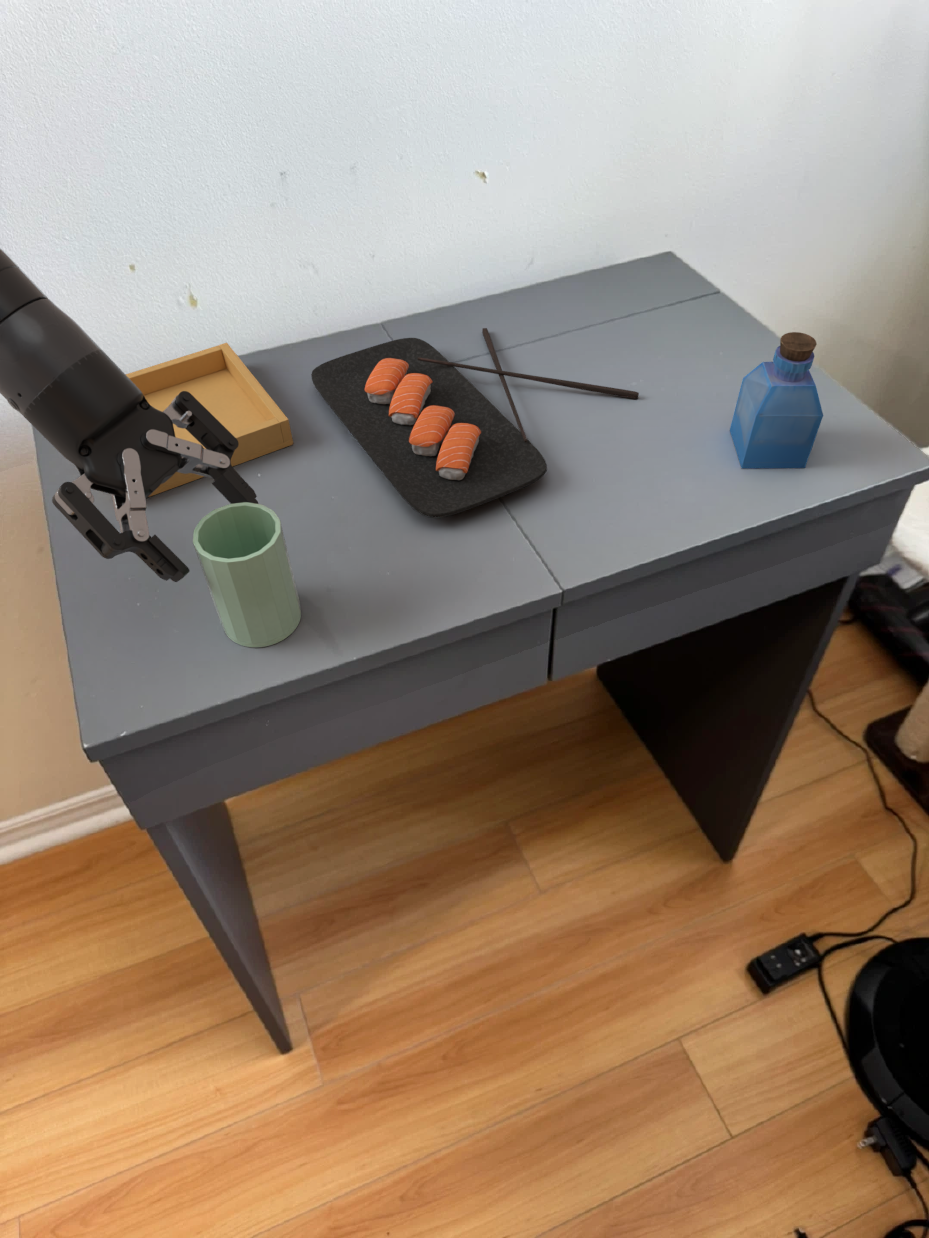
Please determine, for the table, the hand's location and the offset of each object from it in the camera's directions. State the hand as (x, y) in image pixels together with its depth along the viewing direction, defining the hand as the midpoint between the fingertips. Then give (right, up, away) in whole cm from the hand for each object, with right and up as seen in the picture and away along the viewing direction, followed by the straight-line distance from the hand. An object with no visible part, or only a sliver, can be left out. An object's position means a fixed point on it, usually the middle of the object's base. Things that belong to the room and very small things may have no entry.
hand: (219, 542), depth 69 cm
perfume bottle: (+50, +11, +19) cm, 54 cm away
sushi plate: (+22, +16, +24) cm, 36 cm away
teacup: (+2, -6, +5) cm, 8 cm away
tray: (-10, +14, +22) cm, 28 cm away
